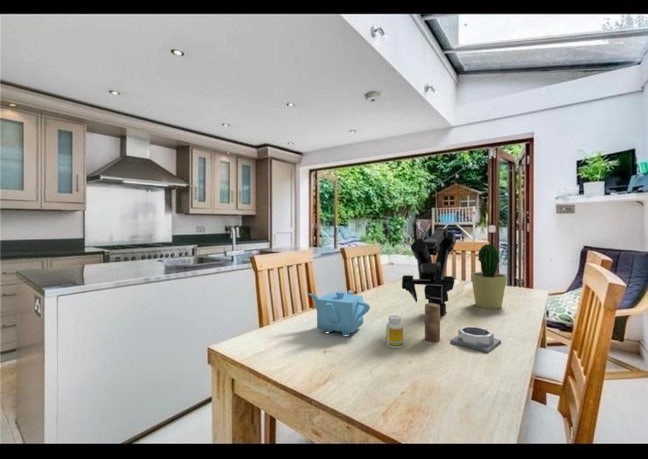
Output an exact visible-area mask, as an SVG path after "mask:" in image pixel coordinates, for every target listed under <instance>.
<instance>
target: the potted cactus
mask: <svg viewBox="0 0 648 459" xmlns="http://www.w3.org/2000/svg"><path fill="white" fill-rule="evenodd" d="M497 250H498V248H497V247H495V246H494V244H492V243H490V244H489V243H488V244H487V243H485V244H484V245H483V244H482V246H481V247H480V249H479V250H478V253H477V254H478V255H476V256H477V257H478V259H476V261H478V263H480V269H481V271H479V272H478V271H477V272H471V273H470V275H471V282H472V290H473V296H474V303H475V306H477V307H479V308H484V309H493V310H494V309H501V308H502V306H503V302H504V301H503V300H504V296H505V288H506V283H507V277H508V275H507V274H504V273H499V272H498V266H499V264H500V263H499V262H501V261H500V260H501V259H500V255H499V251H497Z"/></svg>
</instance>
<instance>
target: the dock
mask: <svg viewBox="0 0 648 459" xmlns="http://www.w3.org/2000/svg"><path fill="white" fill-rule="evenodd" d="M457 331H458V335H457V336H455V337H453V338H451V339H450V340H449V342H450V344H453V345H457V346H459V347H463V348H467V349H471V350H475V351H477V352H478V351H479V352H481V353H486V354H489V353H490V352H491V351H492V350H494V349H495V348H496V347H498V346H499V345H500V344H502V340H501V339H499V338H495V337H494V336H495V335H494V334H495V333H494V332H493V331H491V330H489V329H488V328H485V327H479V326H475V325H473V326H471V325H470V326H467V325H466V326H465V325H464V326H462V327H459V328H458V329H457Z"/></svg>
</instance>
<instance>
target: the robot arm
mask: <svg viewBox="0 0 648 459" xmlns="http://www.w3.org/2000/svg"><path fill="white" fill-rule="evenodd" d="M456 238H457V237H456V236H455V234H454V233H453V232H451V231H449V230H448V229H447V228H435V229H434V232H433V233H432V234H431V235H430V236H429V238H426V239H424V238H418V239H417V240H416V241H413V243H412V244H411V245H410V250H411V252H412V255H413V256H414V258H415V260H417V270H418V278H414V275H409V274H407V275H405V274H404V275H402V277H401V289H403V290H405V291H406V292H407V291H408V292H409V294H410V296H412V298H413V300H414V302H415V303H418V294H417V292H416V286H417V285H418V286H419V285H421V286H423V285H424V300H427V301H428V303H434V304H438V305H440V317H442V316H444V315H446V314H447V304H446V302H449V293H448V292H450V291H452V290H454V285H455V282H456V280H455V278H454V276H452V275H445V272H446V267H447V264H448V259H449V254H450V253H451V252H452V251H453V250H454V247H455V245H457V243H456V242H457V239H456ZM432 256H436V259H435V262H433V257H432ZM428 303H427V304H428Z"/></svg>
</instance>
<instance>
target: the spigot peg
mask: <svg viewBox="0 0 648 459" xmlns="http://www.w3.org/2000/svg"><path fill="white" fill-rule="evenodd" d="M424 340H425V341H427V342H430V343H438V342H440V341H441V316H440V305H438V304H434V303H424Z"/></svg>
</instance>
